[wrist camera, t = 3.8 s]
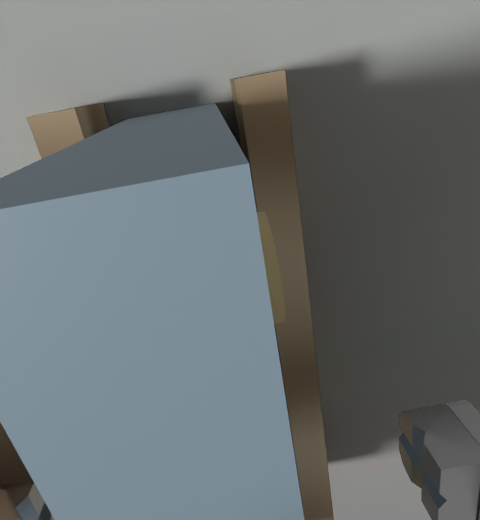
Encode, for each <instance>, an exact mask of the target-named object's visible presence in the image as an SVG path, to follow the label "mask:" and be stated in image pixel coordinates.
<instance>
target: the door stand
mask: <svg viewBox="0 0 480 520" xmlns="http://www.w3.org/2000/svg"><path fill="white" fill-rule="evenodd" d="M230 81H231V88H232V94H233V100H234V106H235V112H236V119H237V125H238V131H239V137H240V144H241V150H242V152H243V153H244V155H245V157H246V159H247V161H248V162H249V166H250V173H251V179H252V186H253V192H254V198H255V205H256V211H257V212H263V211H264V212H265V214H266V216H267V219H268V222H269V225H270V229H271V233H272V236H273V241H274V245H275V250H276V254H277V259H278V264H279V270H280V275H281V281H282V288H283V295H284V303H285V322H280V323H274V327H275V333H276V340H277V346H278V353H279V359H280V366H281V372H282V378H283V385H284V391H285V398H286V404H287V411H288V417H289V423H290V430H291V436H292V443H293V449H294V456H295V462H296V468H297V475H298V481H299V488H300V494H301V501H302V507H303V514H304V520H334V518H333V509H332V500H331V491H330V481H329V472H328V463H327V454H326V445H325V435H324V426H323V417H322V408H321V399H320V389H319V380H318V371H317V362H316V352H315V343H314V334H313V325H312V316H311V306H310V297H309V288H308V279H307V270H306V260H305V251H304V242H303V233H302V223H301V214H300V205H299V196H298V187H297V177H296V168H295V159H294V150H293V140H292V131H291V122H290V113H289V104H288V94H287V85H286V76H285V70H281V71H274V72H268V73H263V74H257V75H252V76H246V77H241V78H235V79H230ZM27 120H28V123H29V125H30V128H31V131H32V133H33V136H34V139H35V142H36V144H37V147H38V150H39V153H40V155H41V158H42V159H43V158H45V157H47V156H49V155H51V154H54V153H56V152H58V151H60V150H62V149H64V148H66V147H69V146H71V145H73V144H75V143H77V142H79V141H81V140H83V139H86V138H88V137H90V136H92V135H94V134H96V133H98V132H100V131H103V130H105V129H107V128H109V123H108V120H107V116H106V113H105V109H104V106H103V103H99V104H93V105H88V106H82V107H77V108H71V109H66V110H61V111H55V112H50V113H45V114H40V115H35V116H30V117H27Z"/></svg>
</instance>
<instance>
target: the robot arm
mask: <svg viewBox="0 0 480 520" xmlns="http://www.w3.org/2000/svg"><path fill="white" fill-rule="evenodd" d="M399 425H400V427H401V429H402V430H403V432H404V433H403V434H402V435H401V437H400V438H399V450H400V454H401V458H402V462H403V465H404V467H405V470H406V472H407V474H408V476H409V478H410V480H411V482H413V483H414V484H416V485H417V486H419V487H420V488H422V498H421V501H422V502H423V504H424V506H425V508H426V510H427V512H428V514H429V515H430V517H431V519H432V520H480V413H479V412H478V411H477V410H476V408H475V407H474V406H473V405H472V404H471V403H470V402H469V401H467V400H460V401H454V402H449V403H444V404H438V405H433V406H427V407H422V408H417V409H412V410H407V411H402V412H401V413H400V415H399ZM0 520H55V519H54V517H53V516H52V514H51V512H50V510H49V508H48V507H47V505H46V503H45V501H44V500H43V498H42V496H41V494H40V492H39V491H38V489H37V487H36V485H35V483H34V482H33V480H30V481H24V482H18V483H11V484H5V485H0Z"/></svg>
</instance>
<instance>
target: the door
mask: <svg viewBox="0 0 480 520" xmlns="http://www.w3.org/2000/svg"><path fill="white" fill-rule="evenodd" d="M280 322H285V303H284V295H283V288H282V281H281V275H280V270H279V264H278V259H277V254H276V250H275V245H274V241H273V236H272V233H271V229H270V225H269V222H268V219H267V216H266V214H265V212H264V211H263V212H257V211H256V205H255V198H254V192H253V186H252V179H251V173H250V166H249V162H248V161H247V159H246V157H245V155H244V153H243V152H242V150H241V148H240V146H239V145H238V143H237V141H236V139H235V137H234V136H233V134H232V132H231V130H230V129H229V127H228V125H227V123H226V121H225V120H224V118H223V116H222V114H221V113H220V111H219V109H218V107H217V106H216V104H215V103H212V104H206V105H201V106H195V107H190V108H184V109H179V110H174V111H168V112H163V113H157V114H152V115H146V116H141V117H135V118H130V119H126V120H124V121H122V122H120V123H118V124H115V125H113V126H111V127H109V128H107V129H105V130H103V131H100V132H98V133H96V134H94V135H92V136H90V137H88V138H86V139H83V140H81V141H79V142H77V143H75V144H73V145H71V146H69V147H66V148H64V149H62V150H60V151H58V152H56V153H54V154H51V155H49V156H47V157H45V158H43V159H41V160H39V161H37V162H34V163H32V164H30V165H28V166H26V167H24V168H22V169H20V170H17V171H15V172H13V173H11V174H9V175H7V176H5V177H3V178H0V422H1V424H2V426H3V428H4V429H5V431H6V433H7V435H8V437H9V438H10V440H11V442H12V444H13V446H14V447H15V449H16V451H17V453H18V455H19V456H20V458H21V460H22V462H23V464H24V465H25V467H26V469H27V471H28V473H29V474H30V476H31V478H32V480H33V482H34V483H35V485H36V487H37V489H38V491H39V492H40V494H41V496H42V498H43V500H44V501H45V503H46V505H47V507H48V508H49V510H50V512H51V514H52V516H53V517H54V519H55V520H304V514H303V507H302V501H301V494H300V488H299V481H298V475H297V468H296V462H295V456H294V449H293V443H292V436H291V430H290V423H289V417H288V411H287V404H286V398H285V391H284V385H283V378H282V372H281V366H280V359H279V353H278V346H277V340H276V333H275V327H274V323H280Z"/></svg>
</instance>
